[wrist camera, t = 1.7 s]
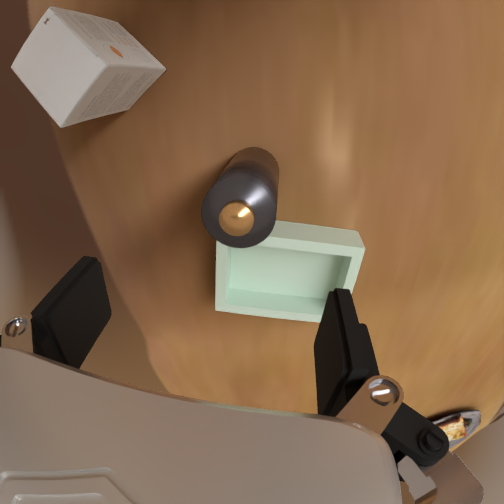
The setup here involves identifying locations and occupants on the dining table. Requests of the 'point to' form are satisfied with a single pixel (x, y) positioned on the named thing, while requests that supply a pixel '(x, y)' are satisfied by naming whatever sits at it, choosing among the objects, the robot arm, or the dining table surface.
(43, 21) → the small box
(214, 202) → the cylinder
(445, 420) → the food plate
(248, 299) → the trough
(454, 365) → the dining table surface
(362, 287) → the dining table surface
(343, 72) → the dining table surface
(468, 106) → the dining table surface
